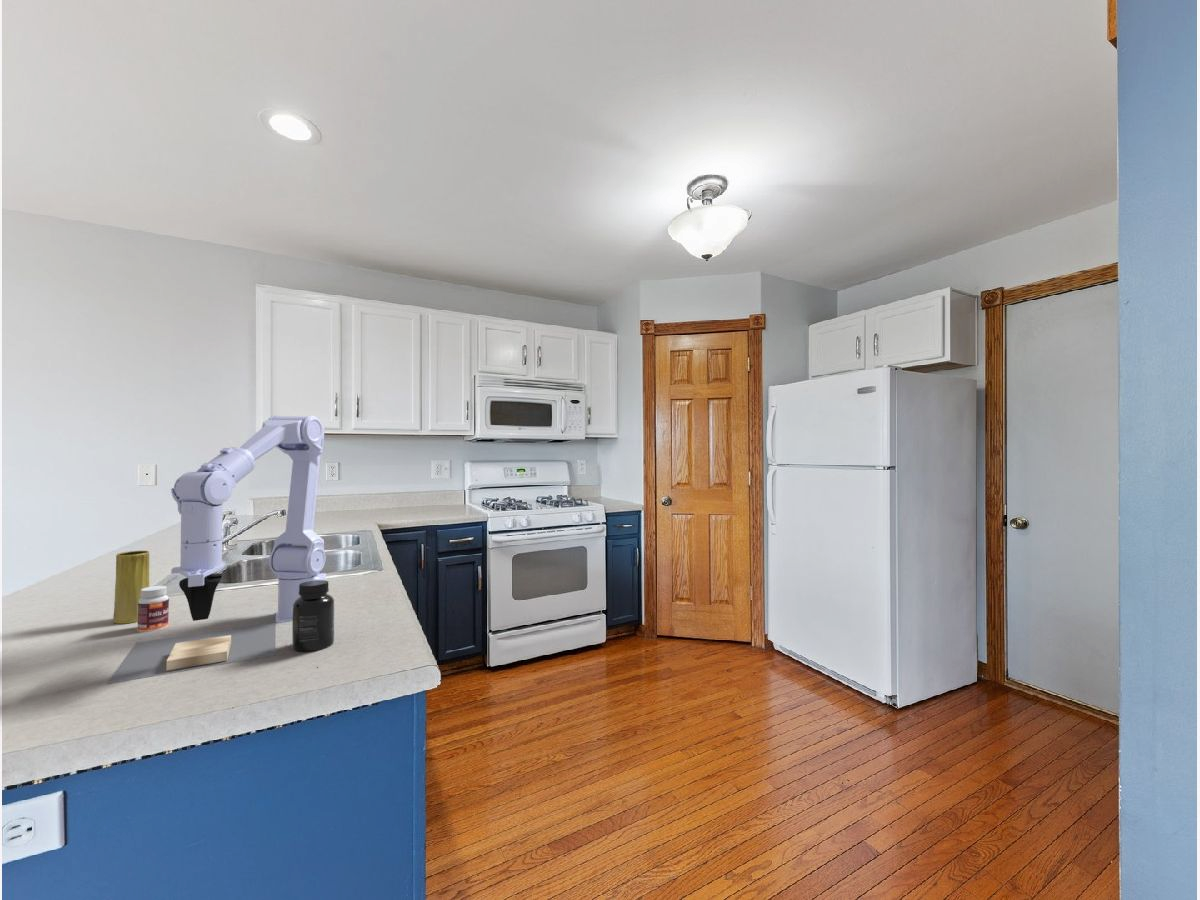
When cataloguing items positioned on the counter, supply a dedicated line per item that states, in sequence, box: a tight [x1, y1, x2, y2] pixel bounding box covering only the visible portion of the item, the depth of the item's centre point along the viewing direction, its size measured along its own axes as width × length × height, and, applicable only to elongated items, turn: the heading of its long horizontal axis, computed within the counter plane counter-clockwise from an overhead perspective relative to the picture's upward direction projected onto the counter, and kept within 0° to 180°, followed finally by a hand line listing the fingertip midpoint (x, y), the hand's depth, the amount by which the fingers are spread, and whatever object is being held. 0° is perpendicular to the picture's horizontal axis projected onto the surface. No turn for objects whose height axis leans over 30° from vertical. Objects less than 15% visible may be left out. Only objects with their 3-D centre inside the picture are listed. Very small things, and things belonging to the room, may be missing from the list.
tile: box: [166, 635, 231, 671], centre depth 90 cm, size 8×2×9 cm
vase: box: [112, 550, 150, 625], centre depth 110 cm, size 6×6×14 cm
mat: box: [106, 622, 277, 685], centre depth 93 cm, size 22×20×1 cm
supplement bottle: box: [291, 580, 335, 653], centre depth 96 cm, size 7×7×12 cm
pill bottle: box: [137, 585, 170, 633], centre depth 104 cm, size 5×5×8 cm
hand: (200, 618), depth 89 cm, fingers closed
